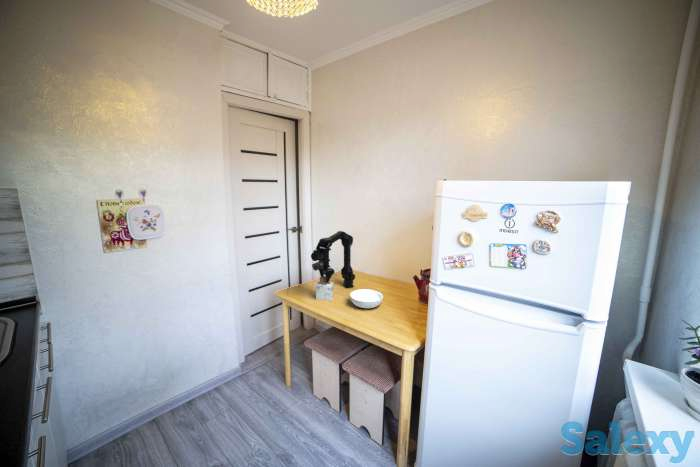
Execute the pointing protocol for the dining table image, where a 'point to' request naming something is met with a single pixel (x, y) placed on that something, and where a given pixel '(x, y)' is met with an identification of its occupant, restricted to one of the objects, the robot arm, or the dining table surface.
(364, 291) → the serving bowl
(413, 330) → the dining table surface
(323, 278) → the walnut block
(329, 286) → the light bulb box
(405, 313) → the dining table surface
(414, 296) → the dining table surface
